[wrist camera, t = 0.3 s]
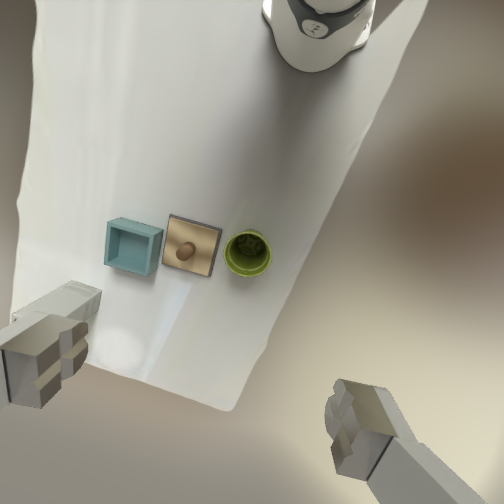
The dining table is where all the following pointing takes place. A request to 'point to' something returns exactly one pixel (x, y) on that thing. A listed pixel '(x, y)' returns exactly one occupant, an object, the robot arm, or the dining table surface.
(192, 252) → the lid
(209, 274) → the mat
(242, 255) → the plant pot
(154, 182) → the dining table surface
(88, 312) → the skincare box
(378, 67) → the dining table surface
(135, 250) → the teal open box
